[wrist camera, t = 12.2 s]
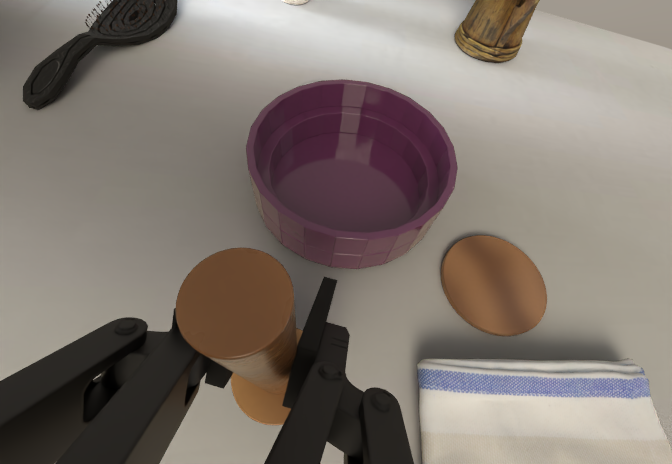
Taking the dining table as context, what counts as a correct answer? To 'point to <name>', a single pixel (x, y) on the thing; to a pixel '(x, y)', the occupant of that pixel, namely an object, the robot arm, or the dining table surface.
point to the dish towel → (538, 413)
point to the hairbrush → (98, 43)
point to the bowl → (349, 172)
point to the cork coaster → (493, 285)
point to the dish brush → (244, 326)
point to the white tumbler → (295, 1)
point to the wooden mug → (495, 29)
